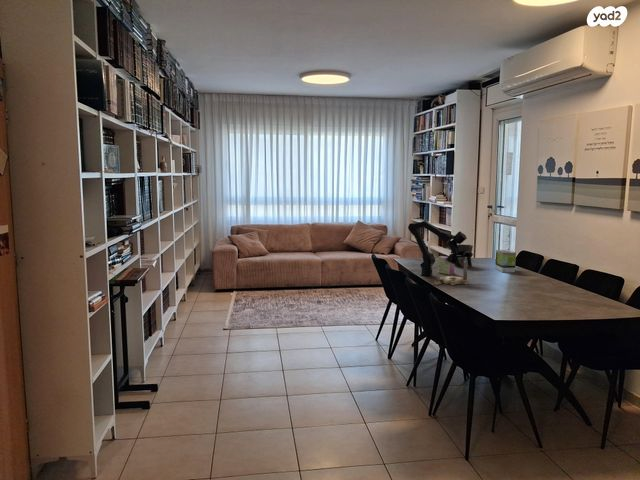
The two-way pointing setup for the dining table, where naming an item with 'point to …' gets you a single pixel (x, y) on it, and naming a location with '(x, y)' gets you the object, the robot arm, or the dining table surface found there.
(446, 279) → the index wheel
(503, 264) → the tea box
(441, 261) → the box
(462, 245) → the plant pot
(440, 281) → the pointer
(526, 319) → the dining table surface
